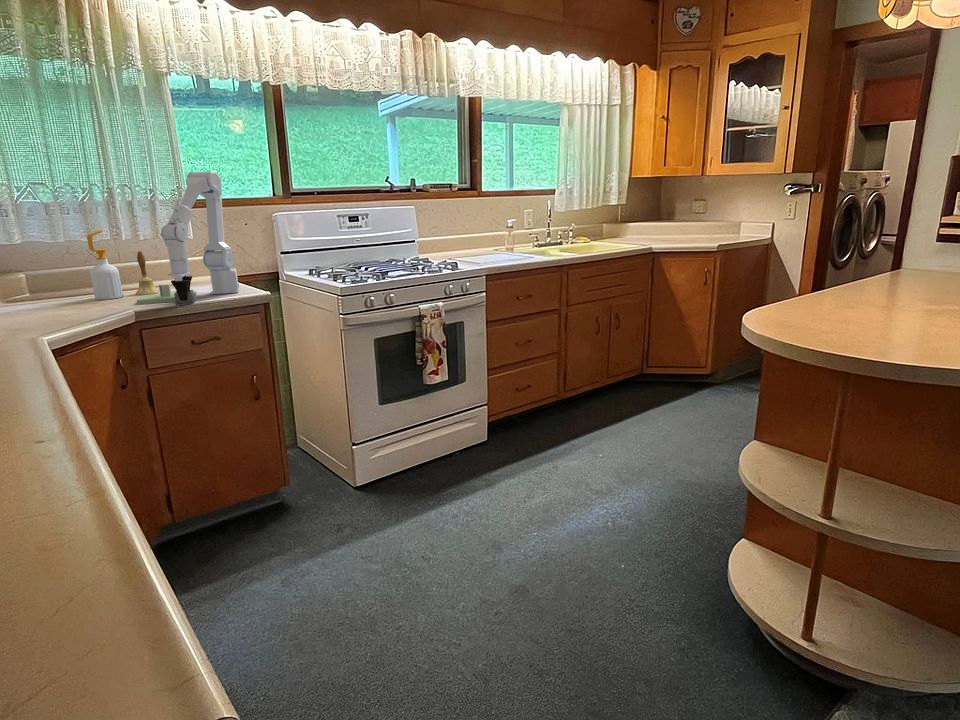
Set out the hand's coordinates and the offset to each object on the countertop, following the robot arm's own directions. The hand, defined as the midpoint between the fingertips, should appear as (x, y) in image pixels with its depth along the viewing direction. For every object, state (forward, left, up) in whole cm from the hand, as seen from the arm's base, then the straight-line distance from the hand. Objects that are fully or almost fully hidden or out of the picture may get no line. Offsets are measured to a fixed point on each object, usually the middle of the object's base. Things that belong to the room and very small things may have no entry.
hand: (185, 298), depth 213 cm
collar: (0, 0, -1) cm, 1 cm away
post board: (+7, -9, -1) cm, 12 cm away
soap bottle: (+29, -24, -2) cm, 38 cm away
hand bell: (+17, -29, -2) cm, 34 cm away
